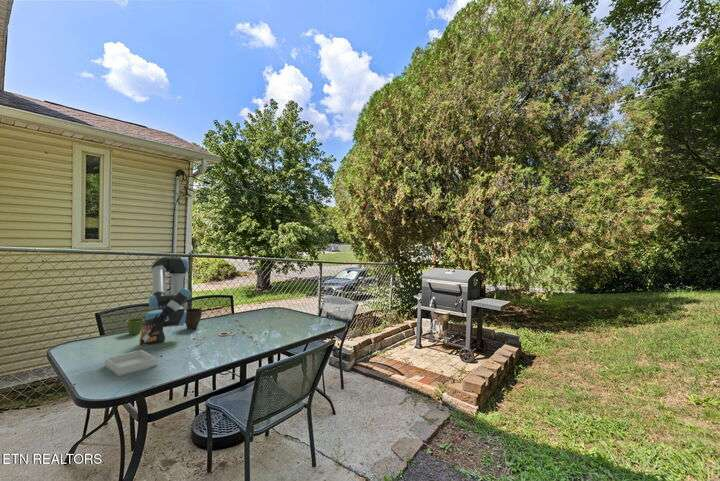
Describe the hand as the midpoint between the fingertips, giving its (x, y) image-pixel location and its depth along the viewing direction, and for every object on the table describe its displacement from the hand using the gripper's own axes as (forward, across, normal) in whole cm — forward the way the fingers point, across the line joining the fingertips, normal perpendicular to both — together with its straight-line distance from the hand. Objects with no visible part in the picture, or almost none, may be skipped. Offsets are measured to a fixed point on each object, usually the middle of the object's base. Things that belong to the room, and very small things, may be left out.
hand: (142, 339), depth 198 cm
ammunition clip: (0, 0, -5) cm, 5 cm away
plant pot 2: (-32, +52, -56) cm, 83 cm away
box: (+15, +2, -7) cm, 17 cm away
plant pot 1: (-6, +69, -29) cm, 75 cm away
